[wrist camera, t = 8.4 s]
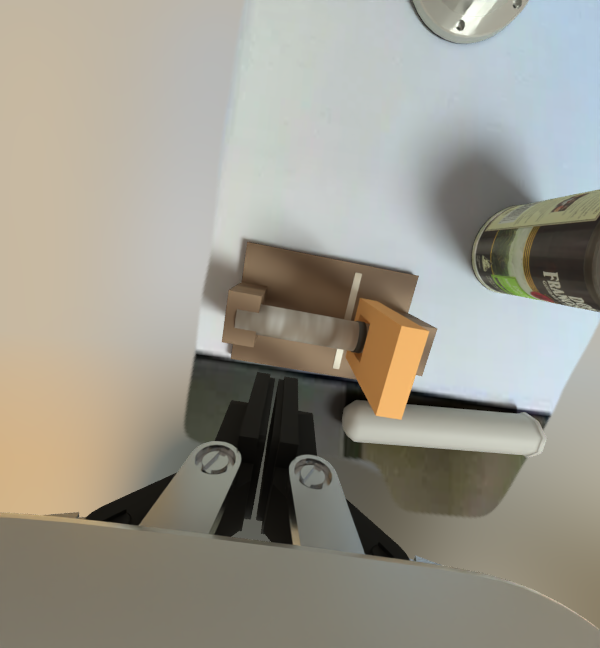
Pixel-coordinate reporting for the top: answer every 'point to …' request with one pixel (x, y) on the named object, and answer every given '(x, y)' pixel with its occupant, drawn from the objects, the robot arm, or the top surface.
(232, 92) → the top surface
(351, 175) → the top surface
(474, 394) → the top surface
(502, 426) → the tube
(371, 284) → the pipe stand
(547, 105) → the top surface
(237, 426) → the robot arm
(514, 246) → the coffee can
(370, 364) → the orange flat block
